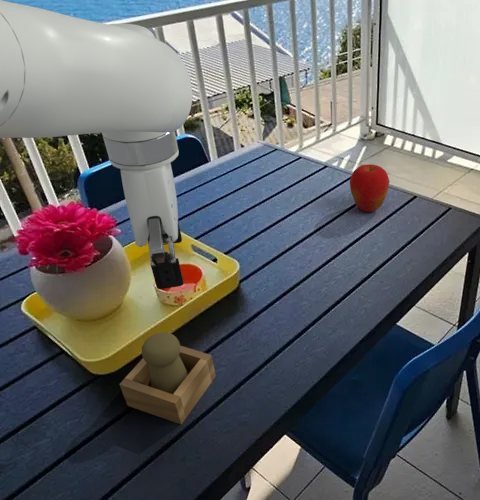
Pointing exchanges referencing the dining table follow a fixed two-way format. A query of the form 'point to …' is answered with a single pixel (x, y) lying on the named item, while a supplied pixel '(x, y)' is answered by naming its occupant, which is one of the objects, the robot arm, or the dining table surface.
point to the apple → (369, 187)
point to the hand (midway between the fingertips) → (170, 263)
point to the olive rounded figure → (164, 361)
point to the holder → (165, 403)
